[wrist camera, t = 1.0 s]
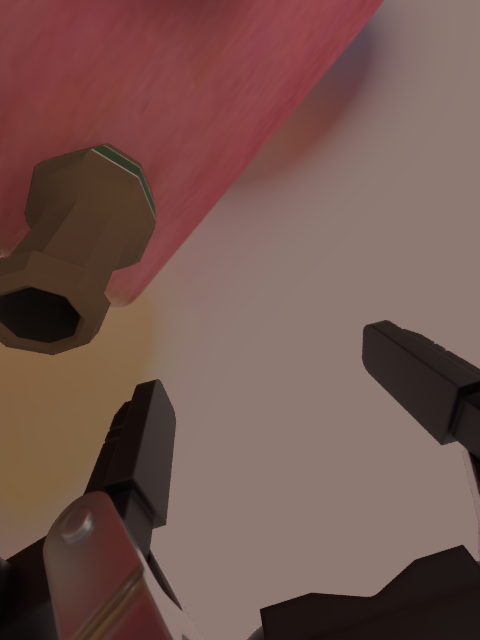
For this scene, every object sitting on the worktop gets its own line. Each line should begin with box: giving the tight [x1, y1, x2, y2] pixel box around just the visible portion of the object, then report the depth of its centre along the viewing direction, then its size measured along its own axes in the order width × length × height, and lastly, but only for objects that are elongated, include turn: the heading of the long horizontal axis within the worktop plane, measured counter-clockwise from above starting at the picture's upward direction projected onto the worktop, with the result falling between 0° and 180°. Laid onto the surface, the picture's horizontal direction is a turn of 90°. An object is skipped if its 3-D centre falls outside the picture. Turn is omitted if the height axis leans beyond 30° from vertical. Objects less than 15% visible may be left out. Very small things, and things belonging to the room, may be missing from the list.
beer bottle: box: [0, 144, 156, 355], centre depth 17 cm, size 8×8×24 cm
